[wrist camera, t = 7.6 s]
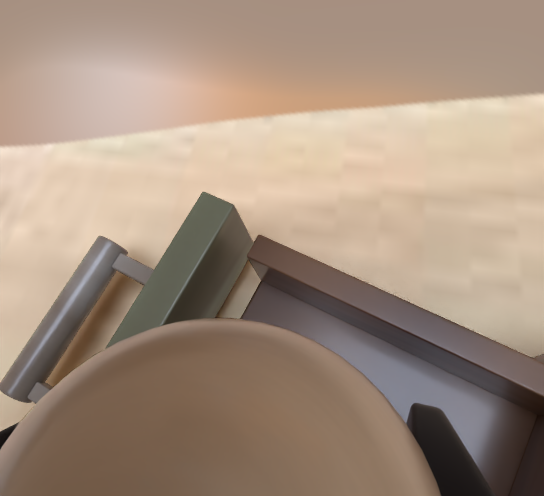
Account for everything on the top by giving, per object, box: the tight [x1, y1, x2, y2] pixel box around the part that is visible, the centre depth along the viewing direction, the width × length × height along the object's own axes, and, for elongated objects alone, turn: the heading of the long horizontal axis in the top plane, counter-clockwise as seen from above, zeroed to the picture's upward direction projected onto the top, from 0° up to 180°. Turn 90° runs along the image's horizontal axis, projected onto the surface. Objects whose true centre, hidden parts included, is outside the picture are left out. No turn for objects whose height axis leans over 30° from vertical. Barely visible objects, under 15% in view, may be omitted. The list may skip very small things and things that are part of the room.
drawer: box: [0, 192, 544, 496], centre depth 14 cm, size 16×11×4 cm
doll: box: [0, 318, 441, 496], centre depth 7 cm, size 4×4×10 cm
